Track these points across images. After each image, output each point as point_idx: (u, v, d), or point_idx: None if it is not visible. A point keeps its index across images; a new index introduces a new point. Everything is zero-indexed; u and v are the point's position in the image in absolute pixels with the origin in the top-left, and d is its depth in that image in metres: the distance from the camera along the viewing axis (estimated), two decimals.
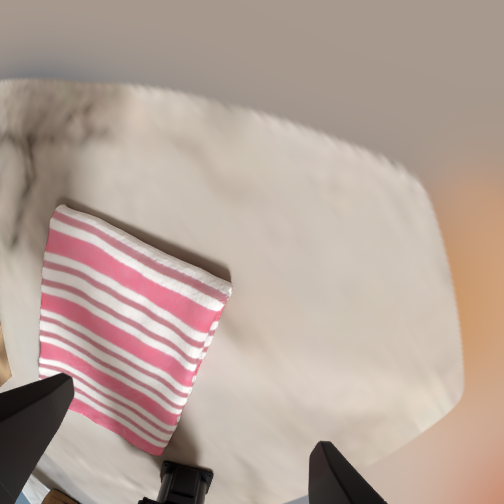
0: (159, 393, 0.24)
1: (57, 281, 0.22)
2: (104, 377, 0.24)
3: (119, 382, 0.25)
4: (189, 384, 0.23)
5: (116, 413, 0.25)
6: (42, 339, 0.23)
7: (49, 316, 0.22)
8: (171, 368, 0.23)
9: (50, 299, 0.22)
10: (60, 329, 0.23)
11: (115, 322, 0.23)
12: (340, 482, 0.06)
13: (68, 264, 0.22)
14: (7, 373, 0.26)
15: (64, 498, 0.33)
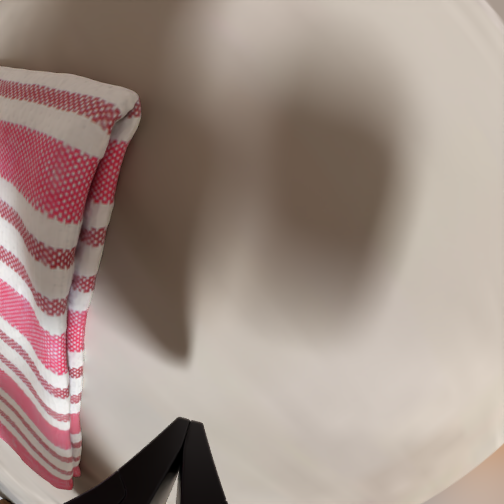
0: (29, 383, 0.09)
1: None
2: None
3: None
4: (61, 369, 0.09)
5: None
6: None
7: None
8: (30, 329, 0.09)
9: None
10: None
11: None
12: (185, 465, 0.06)
13: None
14: None
15: None
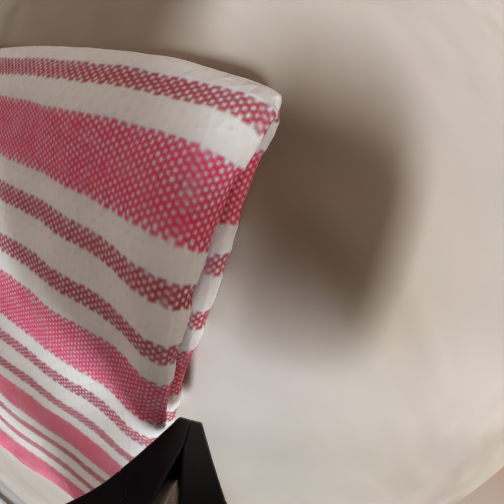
0: (100, 431, 0.09)
1: None
2: (8, 387, 0.09)
3: (31, 399, 0.09)
4: (161, 418, 0.08)
5: (46, 453, 0.10)
6: None
7: None
8: (112, 376, 0.08)
9: None
10: None
11: None
12: (184, 464, 0.06)
13: None
14: None
15: None
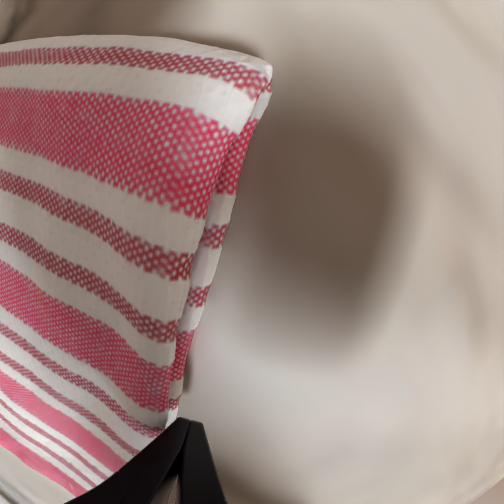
0: (102, 424, 0.09)
1: None
2: (9, 383, 0.09)
3: (32, 395, 0.09)
4: (163, 405, 0.08)
5: (49, 453, 0.10)
6: None
7: None
8: (111, 361, 0.08)
9: None
10: None
11: None
12: (185, 465, 0.06)
13: None
14: None
15: None
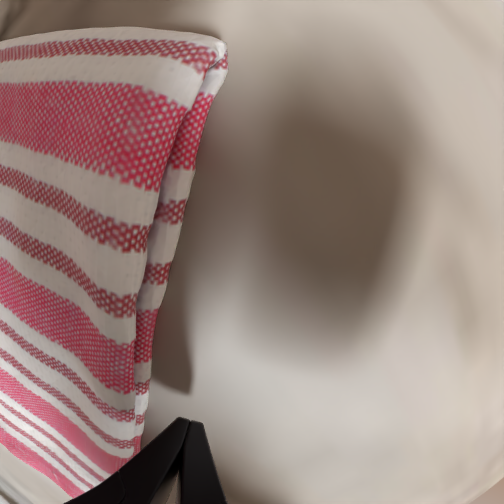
0: (77, 408, 0.09)
1: None
2: None
3: (15, 381, 0.09)
4: (128, 386, 0.08)
5: (34, 442, 0.10)
6: None
7: None
8: (79, 341, 0.08)
9: None
10: None
11: None
12: (185, 465, 0.06)
13: None
14: None
15: None
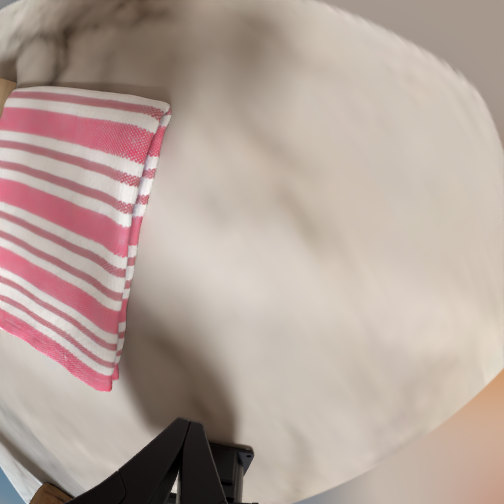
0: (94, 280, 0.19)
1: (2, 160, 0.16)
2: (40, 275, 0.19)
3: (55, 278, 0.19)
4: (124, 253, 0.18)
5: (56, 330, 0.20)
6: None
7: None
8: (104, 234, 0.18)
9: None
10: (2, 221, 0.18)
11: (50, 189, 0.18)
12: (185, 465, 0.06)
13: (15, 138, 0.16)
14: None
15: (58, 493, 0.29)
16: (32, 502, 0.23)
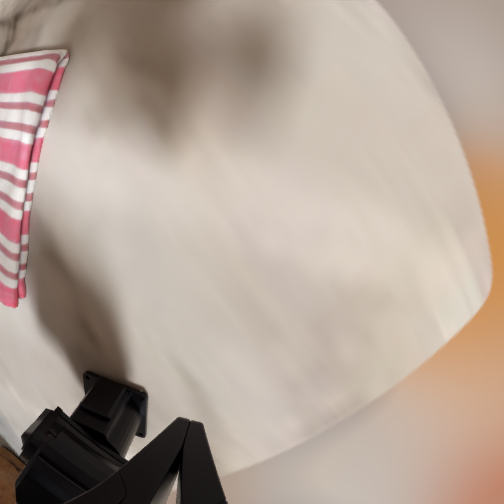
0: (7, 196, 0.18)
1: None
2: None
3: None
4: (25, 166, 0.17)
5: None
6: None
7: None
8: (15, 155, 0.17)
9: None
10: None
11: None
12: (185, 465, 0.06)
13: None
14: None
15: (11, 457, 0.27)
16: None
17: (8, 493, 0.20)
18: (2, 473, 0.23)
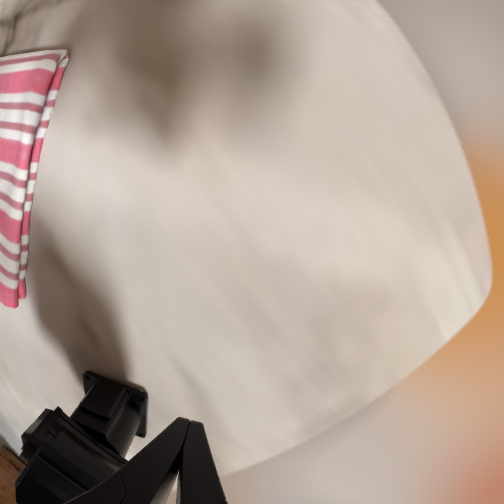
0: (7, 197, 0.18)
1: None
2: None
3: None
4: (24, 166, 0.17)
5: None
6: None
7: None
8: (15, 155, 0.17)
9: None
10: None
11: None
12: (185, 465, 0.06)
13: None
14: None
15: (11, 457, 0.27)
16: None
17: (8, 493, 0.20)
18: (2, 473, 0.23)
